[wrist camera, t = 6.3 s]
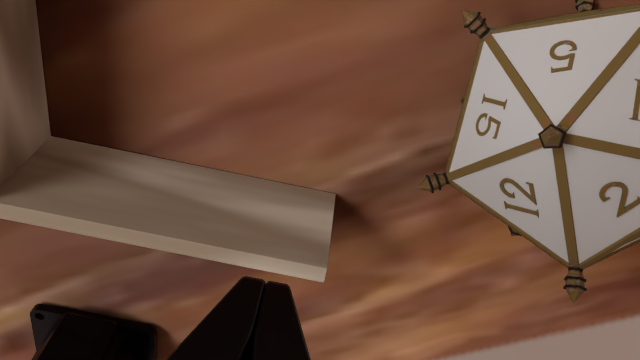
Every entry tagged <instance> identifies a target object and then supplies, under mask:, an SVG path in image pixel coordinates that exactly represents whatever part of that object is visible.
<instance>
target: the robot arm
mask: <svg viewBox="0 0 640 360" xmlns="http://www.w3.org/2000/svg"><path fill="white" fill-rule="evenodd" d="M30 317H31V323H32V329H33V334H34V340H35V345H36V351H37V352H36V353H35V355H34V356H33V358H32V360H157V330H156V329H155V328H154V327H153V326H151V325H147V324H142V323H137V322H132V321H127V320H122V319H117V318H111V317H106V316H101V315H96V314H91V313H86V312H81V311H75V310H70V309H65V308H60V307H55V306H50V305H45V304H37V305H35V306H34V308H33V309H32V311H31V312H30ZM166 360H311V359H310V356H309V352H308V349H307V345H306V342H305V338H304V335H303V331H302V328H301V324H300V321H299V317H298V314H297V310H296V306H295V303H294V299H293V296H292V292H291V289H290V287H289V286H288V285H287V284H283V283H278V282H273V281H268V282H267V283H266V285H265V281H264V280H263V279H258V278H253V277H248V276H244V277H242V278H241V279H240V280H239V281H238V282H237V283H236V284H235V285H234V286H233V288H232V289H231V290H230V291H229V292H228V293H227V294H226V295H225V296H224V297H223V298H222V299H221V301H220V302H219V303H218V304H217V305H216V306H215V307H214V308H213V309H212V310H211V311H210V313H209V314H208V315H207V316H206V317H205V318H204V319H203V320H202V321H201V322H200V323H199V324H198V326H197V327H196V328H195V329H194V330H193V331H192V332H191V333H190V334H189V335H188V336H187V338H186V339H185V340H184V341H183V342H182V343H181V344H180V345H179V346H178V347H177V348H176V349H175V351H174V352H173V353H172V354H171V355H170V356H169V357H168V358H167V359H166Z"/></svg>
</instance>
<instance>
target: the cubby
mask: <svg viewBox="0 0 640 360" xmlns="http://www.w3.org/2000/svg"><path fill="white" fill-rule="evenodd" d="M335 196H336V194H334V193H329V192H324V191H319V190H314V189H309V188H304V187H299V186H294V185H290V184H285V183H280V182H275V181H270V180H265V179H260V178H255V177H250V176H245V175H240V174H235V173H231V172H226V171H221V170H216V169H211V168H206V167H201V166H196V165H191V164H186V163H181V162H177V161H172V160H167V159H162V158H157V157H152V156H147V155H142V154H137V153H132V152H127V151H122V150H118V149H113V148H108V147H103V146H98V145H93V144H88V143H83V142H78V141H73V140H68V139H64V138H59V137H54V136H51V132H50V124H49V115H48V106H47V97H46V88H45V80H44V71H43V62H42V53H41V45H40V36H39V27H38V18H37V9H36V1H35V0H0V218H2V219H7V220H12V221H17V222H22V223H27V224H32V225H37V226H42V227H47V228H52V229H57V230H62V231H67V232H72V233H77V234H82V235H87V236H92V237H97V238H102V239H107V240H112V241H117V242H122V243H127V244H132V245H138V246H143V247H148V248H153V249H158V250H163V251H168V252H173V253H178V254H183V255H188V256H193V257H198V258H203V259H208V260H213V261H218V262H223V263H228V264H233V265H238V266H243V267H248V268H253V269H258V270H263V271H268V272H273V273H279V274H284V275H289V276H294V277H299V278H304V279H309V280H314V281H319V282H324V279H325V275H326V271H327V266H328V257H329V248H330V240H331V231H332V222H333V214H334V205H335Z"/></svg>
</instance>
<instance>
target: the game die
mask: <svg viewBox="0 0 640 360" xmlns="http://www.w3.org/2000/svg"><path fill="white" fill-rule="evenodd" d="M575 2H576V3H577V6H576V9H577V10H578V11H579V12H578V13H572V14H567V15H561V16H556V17H551V18H545V19H540V20H534V21H529V22H524V23H518V24H513V25H507V26H502V27H497V28H491V29H490V28H488V27H487V24H486V22H485V21H486V19H485V18H484V19H483V18H482V17H481V16H480V12H478V13H475V12H469V11H464V10H462V12H463V17H464V22H465V26H464V27H465V28H468V29H470V30H471V31H470V33H475V34H477V35H478V36H479V38H480V40H479V44H478V48H477V52H476V55H475V59H474V63H473V67H472V71H471V74H470V78H469V82H468V86H467V90H466V94H465V97H464V98H462V99H461V102H462V104H463V105H462V109H461V113H460V116H459V120H458V124H457V128H456V132H455V135H454V139H453V143H452V147H451V151H450V155H449V158H448V162H447V166H446V170H445V173H443V174H436V173H433V174H434V175H431V176H428V175H426V178H425V179H424V181H423V182H422V183H421V184H420V186H419V187H418V189H422V190H427V191H431V192H432V193H434V191H435V190H437V189H439V190H441V188H442V187H443V186H444V185H446V184H450V185H451V186H453V187H454V188H455V189H457V190H458V191H460V192H461V193H462V194H464V195H465V196H467V197H468V198H469V199H471V200H472V201H474V202H475V203H477V204H478V205H479V206H481V207H482V208H484V209H485V210H486V211H488V212H489V213H491V214H492V215H493V216H495V217H496V218H498V219H499V220H501V221H502V222H503V223H505V224H506V225H508V227H509V229H510V232H511V236H516V235H519V236H523V237H525V238H526V239H527V240H529V241H530V242H532V243H533V244H534V245H536V246H537V247H539V248H540V249H542V250H543V251H544V252H546V253H547V254H549V255H550V256H551V257H553V258H554V259H556V260H557V261H558V262H560V263H561V264H563V265H564V266H566V267H567V268H568V270H569V272H568V275H567V276H566V277H565V278H564V280H566V285H565V286H564V288H563V289H566V291H567V292H568V294H569V296H570V297H571V299H572V301H573V303H574V302H575V301H576V300H577V299H578V298H579V296H580V295H581V294H582V293H583V291H587V289H586V288H584V282H586V279H584V277H583V274H582V271H583V269H585V268H587V267H589V266H591V265H593V264H595V263H597V262H599V261H601V260H603V259H605V258H607V257H609V256H611V255H613V254H615V253H617V252H619V251H621V250H623V249H626V248H628V247H630V246H632V245H634V244H636V243H638V242H640V4H636V5H629V6H621V7H613V8H606V9H598V10H593V7H594V3H593V2H594V0H575Z"/></svg>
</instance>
